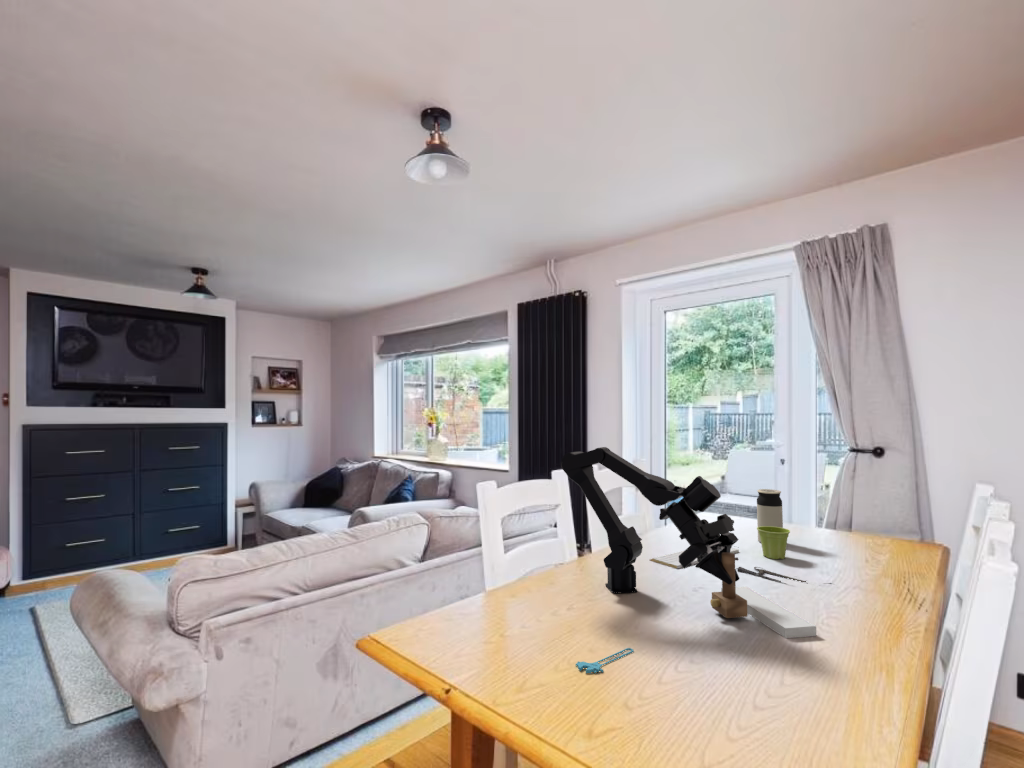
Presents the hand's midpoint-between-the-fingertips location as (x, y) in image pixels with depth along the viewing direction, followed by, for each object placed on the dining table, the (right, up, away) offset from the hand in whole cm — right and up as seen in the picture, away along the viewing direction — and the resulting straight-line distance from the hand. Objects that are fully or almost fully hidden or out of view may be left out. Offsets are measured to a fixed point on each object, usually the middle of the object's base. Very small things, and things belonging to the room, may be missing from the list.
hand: (734, 581), depth 116 cm
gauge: (-1, -7, +1) cm, 7 cm away
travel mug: (+40, -11, +64) cm, 77 cm away
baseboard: (+8, -11, +49) cm, 51 cm away
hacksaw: (+26, -10, +27) cm, 38 cm away
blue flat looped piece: (-32, -8, -19) cm, 38 cm away
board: (+8, -8, +2) cm, 11 cm away
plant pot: (+33, -10, +47) cm, 58 cm away
